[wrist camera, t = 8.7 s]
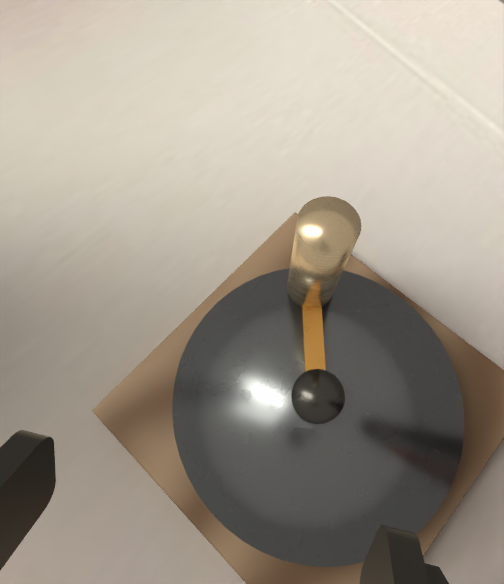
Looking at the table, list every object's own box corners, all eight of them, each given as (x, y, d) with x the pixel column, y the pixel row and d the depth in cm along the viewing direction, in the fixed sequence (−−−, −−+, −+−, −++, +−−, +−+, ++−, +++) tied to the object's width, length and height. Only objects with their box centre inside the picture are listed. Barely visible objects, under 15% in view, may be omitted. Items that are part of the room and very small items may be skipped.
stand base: (100, 413, 28) (90, 410, 26) (293, 222, 33) (295, 210, 31) (331, 669, 23) (337, 686, 21) (519, 396, 28) (536, 392, 26)
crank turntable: (124, 401, 26) (48, 374, 17) (303, 234, 30) (322, 138, 21) (324, 635, 22) (370, 773, 12) (504, 401, 26) (641, 372, 16)
